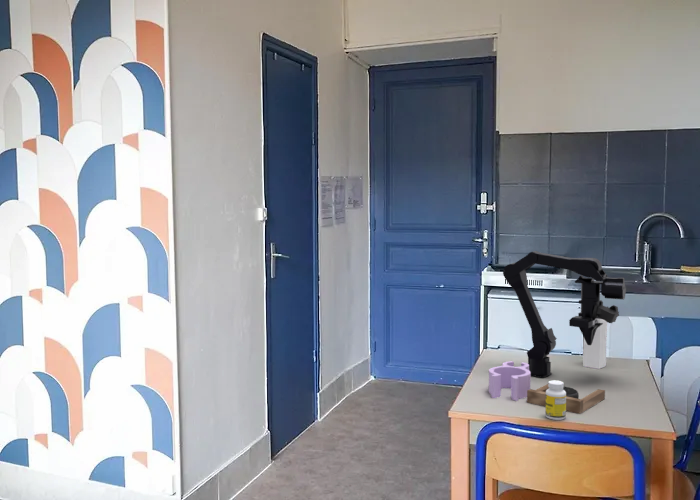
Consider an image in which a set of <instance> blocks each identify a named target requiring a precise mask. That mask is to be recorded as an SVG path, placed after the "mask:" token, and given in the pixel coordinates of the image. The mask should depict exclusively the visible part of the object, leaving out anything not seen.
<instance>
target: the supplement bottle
mask: <svg viewBox="0 0 700 500" xmlns="http://www.w3.org/2000/svg"><path fill="white" fill-rule="evenodd" d="M547 384H548V387H549V389H547V390H546V406H545V414H544V415H545V417H546V418H548V420H549V419H550V420H554V421H561V420H565V419H566V417H567V411H566V392H565V390H563V388H564V387H565V386H564V382H563V381H561V380H558V379H557V380H555V379H553V380H549V381H548V382H547Z"/></svg>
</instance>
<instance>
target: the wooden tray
mask: <svg viewBox="0 0 700 500" xmlns="http://www.w3.org/2000/svg"><path fill="white" fill-rule="evenodd" d="M547 389H549V387H548V383H546V384H544V385H542V386H540V387H538V388H537V389H531V388H530V390H528V391H527V397H526V402H527V403H529V404H533V405H538V406H542V407H546V390H547ZM605 398H606V390H604V389H596V390H594V391H593V392H590V393H589V394H588V395H586V396H583V398H579V399H577V398H572V397H567V396H566V412H570V413H575V414H580V415H581V414H582V413H584V412H585V411H587V410H589V409H590V408H592V407H594V406H595V405H597V404H598V403H600V402H602V401H603V400H605Z"/></svg>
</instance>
